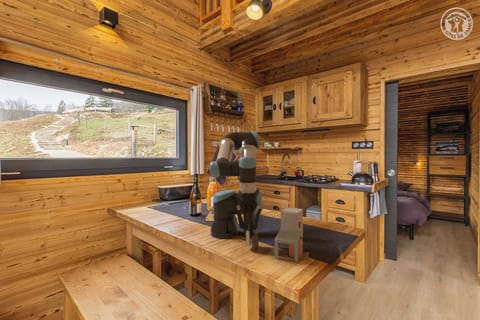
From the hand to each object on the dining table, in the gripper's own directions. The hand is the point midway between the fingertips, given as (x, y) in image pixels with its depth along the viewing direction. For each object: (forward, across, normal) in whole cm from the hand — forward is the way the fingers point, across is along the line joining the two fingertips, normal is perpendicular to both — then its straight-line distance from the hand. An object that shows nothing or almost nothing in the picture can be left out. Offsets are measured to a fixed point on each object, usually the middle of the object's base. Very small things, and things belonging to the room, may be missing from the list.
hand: (248, 244), depth 99 cm
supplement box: (+3, +16, +21) cm, 26 cm away
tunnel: (+3, +17, +1) cm, 18 cm away
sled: (+3, +14, +1) cm, 14 cm away
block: (+2, +20, +1) cm, 20 cm away
